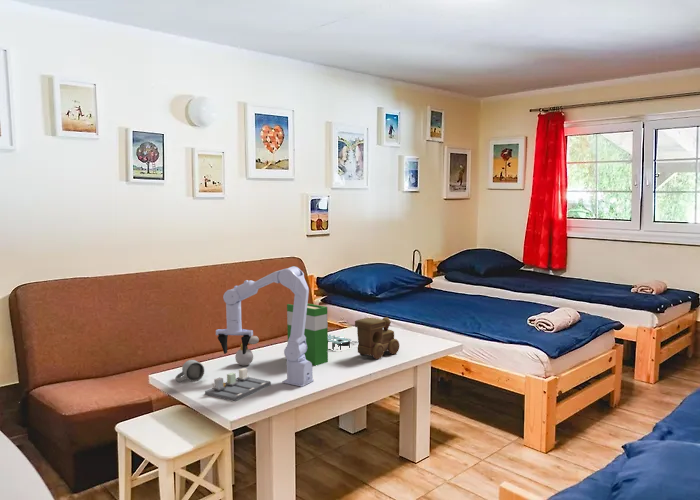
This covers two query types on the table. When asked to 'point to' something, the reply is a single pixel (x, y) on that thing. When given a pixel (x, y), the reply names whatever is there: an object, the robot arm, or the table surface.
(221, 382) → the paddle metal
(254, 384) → the panel
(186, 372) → the ceramic mug
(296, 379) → the robot arm
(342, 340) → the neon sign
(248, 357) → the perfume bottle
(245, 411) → the table surface
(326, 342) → the hardback book
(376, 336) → the wooden toy train
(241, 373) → the paddle cream
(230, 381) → the pale mint cube
